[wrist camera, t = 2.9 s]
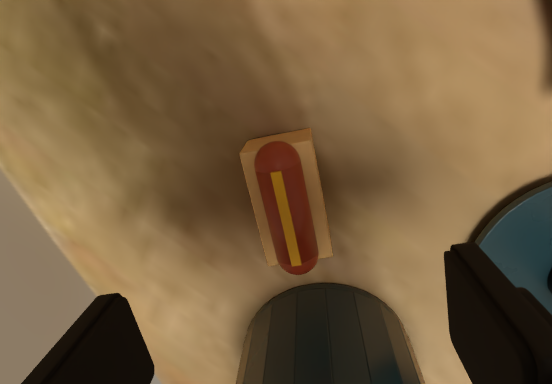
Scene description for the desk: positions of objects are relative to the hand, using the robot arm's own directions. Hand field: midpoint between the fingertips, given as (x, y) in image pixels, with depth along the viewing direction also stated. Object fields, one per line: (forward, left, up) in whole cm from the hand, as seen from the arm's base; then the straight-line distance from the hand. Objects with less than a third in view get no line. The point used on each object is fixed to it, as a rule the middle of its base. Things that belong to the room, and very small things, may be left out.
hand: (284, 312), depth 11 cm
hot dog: (0, 0, -9) cm, 9 cm away
